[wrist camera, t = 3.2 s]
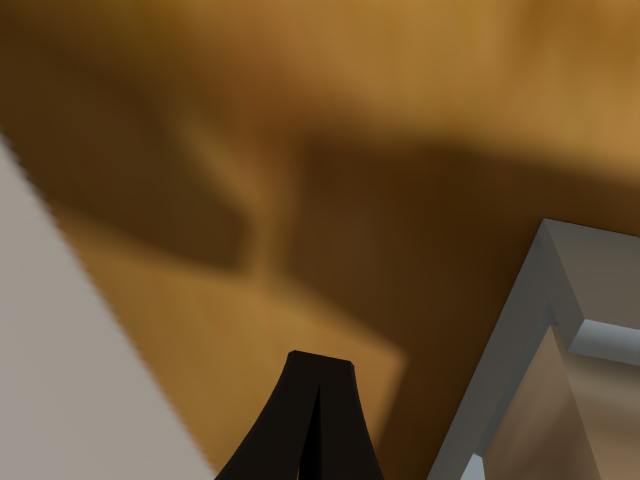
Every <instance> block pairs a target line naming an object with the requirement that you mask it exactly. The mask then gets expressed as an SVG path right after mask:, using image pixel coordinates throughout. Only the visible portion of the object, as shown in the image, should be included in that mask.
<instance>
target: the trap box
mask: <svg viewBox="0 0 640 480" xmlns="http://www.w3.org/2000/svg"><path fill="white" fill-rule="evenodd" d="M550 325H554V326H558V327H559V330H560V333H561V335H562V338H563V341H564V344H565V347H566V350H567V352H572V353H577V354H582V355H587V356H592V357H597V358H602V359H607V360H612V361H617V362H622V363H627V364H632V365H637V366H640V237H635V236H630V235H626V234H621V233H616V232H611V231H606V230H601V229H596V228H591V227H586V226H581V225H576V224H571V223H566V222H562V221H557V220H552V219H547V218H543V221H542V223H541V225H540V227H539V229H538V232H537V234H536V236H535V238H534V241H533V243H532V245H531V247H530V250H529V252H528V254H527V256H526V258H525V261H524V263H523V265H522V267H521V270H520V272H519V274H518V276H517V279H516V281H515V283H514V285H513V288H512V290H511V292H510V294H509V296H508V299H507V301H506V303H505V305H504V308H503V310H502V312H501V314H500V317H499V319H498V321H497V323H496V325H495V328H494V330H493V332H492V334H491V337H490V339H489V341H488V343H487V346H486V348H485V350H484V352H483V354H482V357H481V359H480V361H479V363H478V366H477V368H476V370H475V372H474V375H473V377H472V379H471V381H470V384H469V386H468V388H467V390H466V392H465V395H464V397H463V399H462V401H461V404H460V406H459V408H458V410H457V413H456V415H455V417H454V419H453V421H452V424H451V426H450V428H449V430H448V433H447V435H446V437H445V439H444V442H443V444H442V446H441V448H440V451H439V453H438V455H437V457H436V459H435V462H434V464H433V466H432V468H431V471H430V473H429V475H428V477H427V480H485V475H484V469H483V462H482V457H483V455H484V453H485V451H486V449H487V447H488V445H489V443H490V441H491V439H492V437H493V435H494V433H495V431H496V429H497V427H498V425H499V423H500V422H501V420H502V418H503V416H504V414H505V412H506V410H507V408H508V406H509V404H510V402H511V400H512V398H513V396H514V394H515V392H516V390H517V388H518V386H519V385H520V383H521V381H522V379H523V377H524V375H525V373H526V371H527V369H528V367H529V365H530V363H531V361H532V359H533V357H534V355H535V353H536V351H537V350H538V348H539V346H540V344H541V342H542V340H543V338H544V336H545V334H546V332H547V330H548V328H549V326H550Z"/></svg>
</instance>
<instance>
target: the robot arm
mask: <svg viewBox="0 0 640 480" xmlns="http://www.w3.org/2000/svg"><path fill="white" fill-rule="evenodd" d="M298 469H299V478H298V480H384V478H383V475H382V473H381V470H380V467H379V464H378V461H377V459H376V456H375V453H374V449H373V446H372V443H371V440H370V436H369V433H368V430H367V427H366V423H365V419H364V416H363V412H362V408H361V403H360V399H359V394H358V390H357V384H356V378H355V370H354V365H353V364H352V363H351V361H347V360H342V359H337V358H332V357H327V356H322V355H317V354H312V353H307V352H302V351H296V350H294V351H292V352H289V353H288V357H287V360H286V363H285V366H284V369H283V371H282V374H281V376H280V378H279V380H278V383H277V385H276V387H275V389H274V390H273V392H272V394H271V396H270V398H269V400H268V402H267V403H266V405H265V407H264V408H263V410H262V412H261V414H260V415H259V417H258V419H257V420H256V422H255V424H254V425H253V427H252V428H251V430H250V431H249V433H248V434H247V436H246V437H245V439H244V440H243V441H242V443H241V444H240V446H239V447H238V449H237V450H236V452H235V453H234V455H233V456H232V457H231V459H230V460H229V461H228V463H227V464H226V465H225V467H224V468H223V469H222V471H221V472H220V473H219V474H218V476H217V477H216V478H215V479H214V480H297V474H298Z"/></svg>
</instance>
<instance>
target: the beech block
mask: <svg viewBox="0 0 640 480" xmlns="http://www.w3.org/2000/svg"><path fill="white" fill-rule="evenodd" d="M482 462H483V469H484V475H485V480H640V366H637V365H632V364H627V363H622V362H617V361H612V360H607V359H602V358H597V357H592V356H587V355H582V354H577V353H572V352H567V350H566V347H565V344H564V341H563V338H562V335H561V333H560V330H559V327H558V326H554V325H550V326H549V328H548V330H547V332H546V334H545V336H544V338H543V340H542V342H541V344H540V346H539V348H538V350H537V351H536V353H535V355H534V357H533V359H532V361H531V363H530V365H529V367H528V369H527V371H526V373H525V375H524V377H523V379H522V381H521V383H520V385H519V386H518V388H517V390H516V392H515V394H514V396H513V398H512V400H511V402H510V404H509V406H508V408H507V410H506V412H505V414H504V416H503V418H502V420H501V422H500V423H499V425H498V427H497V429H496V431H495V433H494V435H493V437H492V439H491V441H490V443H489V445H488V447H487V449H486V451H485V453H484V455H483V457H482Z"/></svg>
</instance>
